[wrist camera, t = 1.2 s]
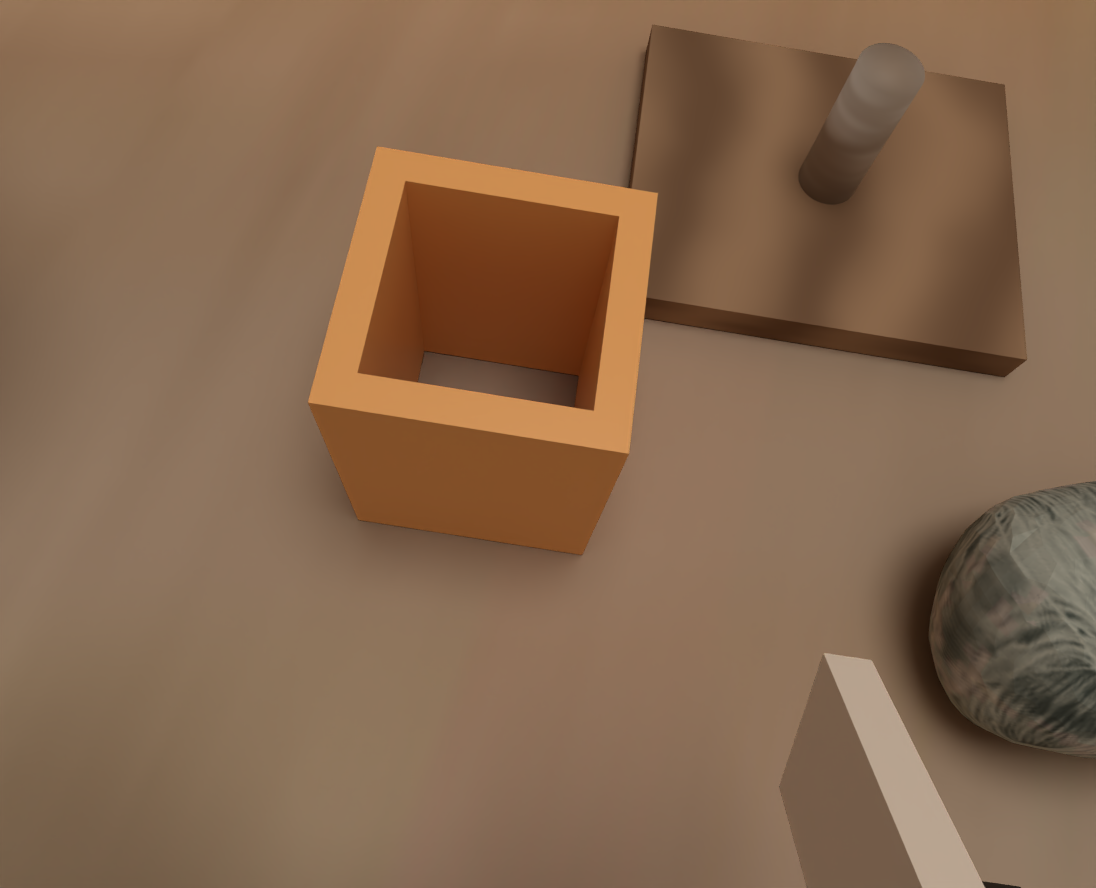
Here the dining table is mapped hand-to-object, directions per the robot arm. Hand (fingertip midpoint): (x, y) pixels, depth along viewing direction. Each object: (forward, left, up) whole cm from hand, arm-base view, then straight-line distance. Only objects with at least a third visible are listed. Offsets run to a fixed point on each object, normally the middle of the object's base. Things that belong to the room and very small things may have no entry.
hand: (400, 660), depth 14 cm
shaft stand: (+12, +23, -16) cm, 31 cm away
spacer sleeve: (0, +10, -16) cm, 19 cm away
